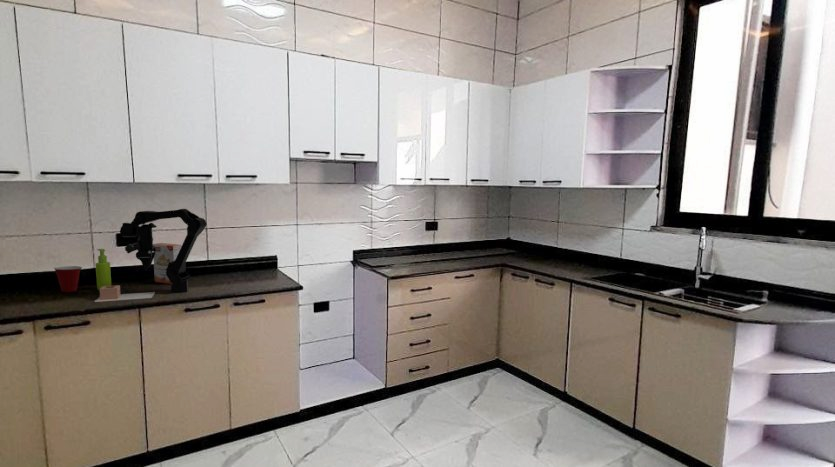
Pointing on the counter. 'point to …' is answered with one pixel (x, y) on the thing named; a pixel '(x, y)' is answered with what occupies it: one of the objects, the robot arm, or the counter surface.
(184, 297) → the counter surface
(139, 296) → the base plate
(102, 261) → the soap dispenser
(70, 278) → the plastic cup
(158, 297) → the counter surface
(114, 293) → the pink hollow square block
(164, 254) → the cracker box
